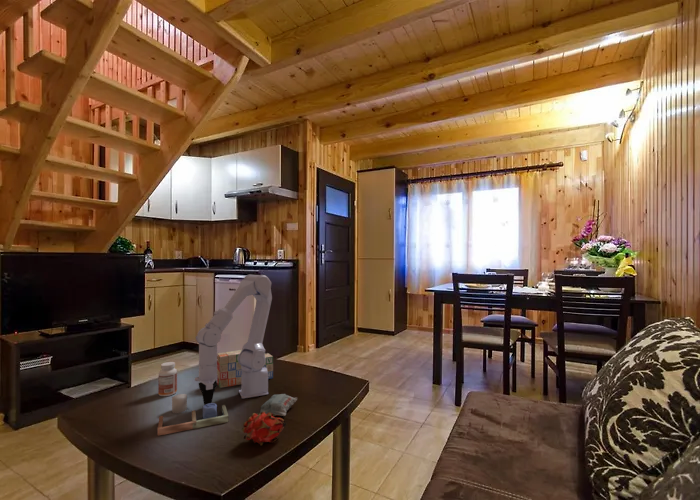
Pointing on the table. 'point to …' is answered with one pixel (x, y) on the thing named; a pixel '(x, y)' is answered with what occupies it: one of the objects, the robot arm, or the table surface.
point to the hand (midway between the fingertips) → (207, 404)
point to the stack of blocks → (235, 368)
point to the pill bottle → (167, 379)
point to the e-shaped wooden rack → (192, 423)
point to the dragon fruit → (263, 427)
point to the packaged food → (278, 404)
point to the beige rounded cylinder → (179, 403)
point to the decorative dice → (209, 410)
